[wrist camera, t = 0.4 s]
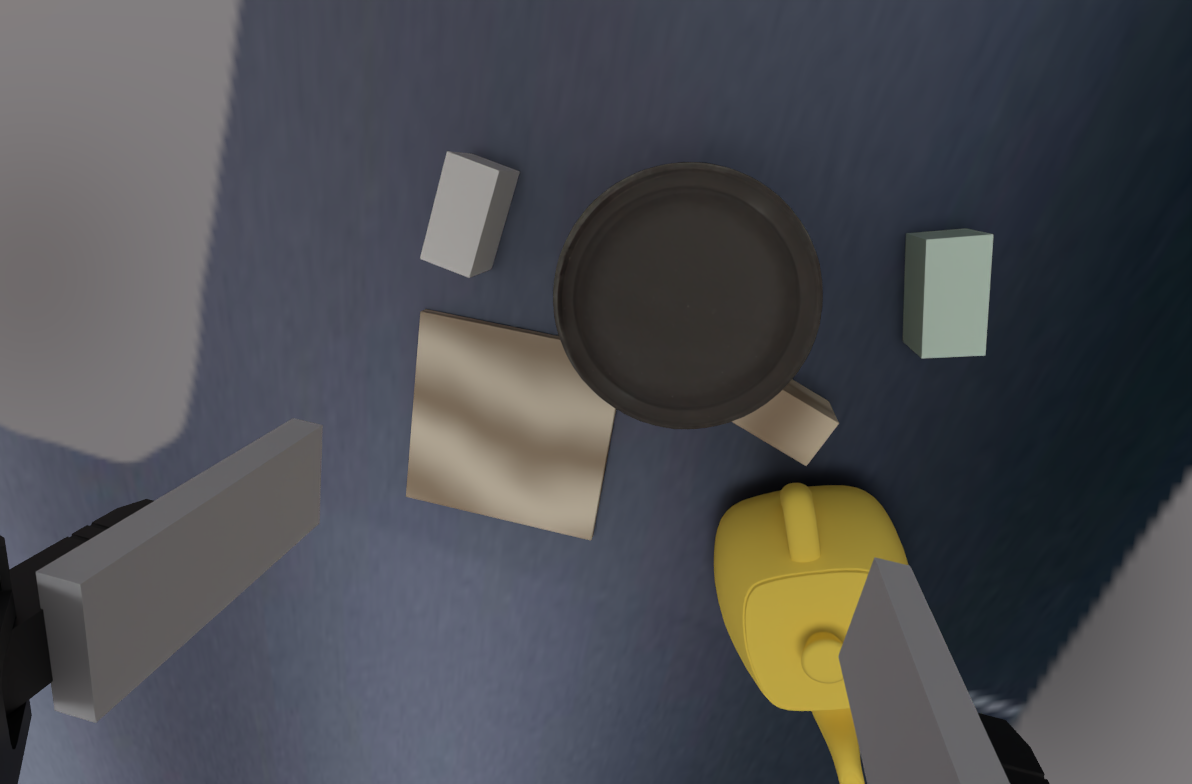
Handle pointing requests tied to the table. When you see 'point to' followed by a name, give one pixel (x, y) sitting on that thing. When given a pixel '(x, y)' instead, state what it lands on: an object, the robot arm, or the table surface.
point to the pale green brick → (947, 292)
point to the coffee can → (687, 295)
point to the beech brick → (793, 422)
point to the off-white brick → (468, 213)
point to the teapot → (802, 596)
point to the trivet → (506, 426)
